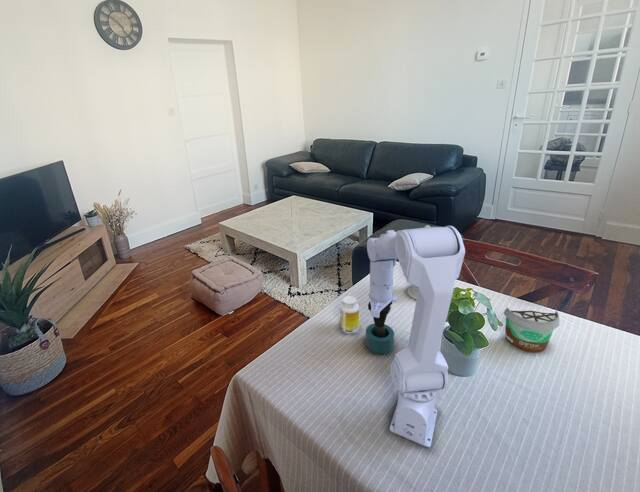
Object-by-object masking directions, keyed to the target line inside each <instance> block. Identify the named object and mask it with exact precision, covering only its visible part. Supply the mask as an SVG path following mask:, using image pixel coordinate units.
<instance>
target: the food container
mask: <svg viewBox="0 0 640 492" xmlns="http://www.w3.org/2000/svg"><path fill="white" fill-rule="evenodd" d="M503 315H504V316H505V329H504V330H505V332H504V333H505V334H504V339H505V340H506V341H507V342H508V343H509V344H510V345H512V346H513V347H515V348H516V349H518V350H521V351H524V352H528V353H535V354H536V353H542V352H544V351H545V350H546V349H547V347H548V344H549V342H550V340H551V337H552V334H553V332H554V330H556V329H557V328H559V326H560V323H561V322H560V321H561V320H560V314H559V312H558V310H555V312H541V311H536V310H510V308H509V307H506V308H505V309H504V311H503Z"/></svg>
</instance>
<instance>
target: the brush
mask: <svg viewBox="0 0 640 492" xmlns="http://www.w3.org/2000/svg"><path fill="white" fill-rule="evenodd" d="M385 325H386V324H385V323H384V326H383V328H382V327H378V326H375V335H376V336H378V337H383V336H384V335H385Z"/></svg>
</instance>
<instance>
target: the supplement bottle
mask: <svg viewBox="0 0 640 492" xmlns="http://www.w3.org/2000/svg"><path fill="white" fill-rule="evenodd" d="M339 322H340V324H339V325H340V326H339V328H340V329H341V331H342V332H343V333H346V334H355V333H357V332H358V331H359V330H360V306H359V303H357V298H356V297H354V296H353V295H346V296H343V297H342V302H341V303H340V305H339Z"/></svg>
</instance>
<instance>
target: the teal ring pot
mask: <svg viewBox="0 0 640 492" xmlns="http://www.w3.org/2000/svg"><path fill="white" fill-rule="evenodd" d="M394 341H395V332H394V329H393V328H392V327H391V326H389V325H388V324H385V335H384V336H383V337H378V336H376V335H375V323H374V322H373V323H371V324H369V325H367V327H366V329H365V347H366V348H367V349H368V350H369V351H370V352H372V353H374V354H377V355H387V354H389V353H391V352H392V351H393V350H394V345H395V342H394Z"/></svg>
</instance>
